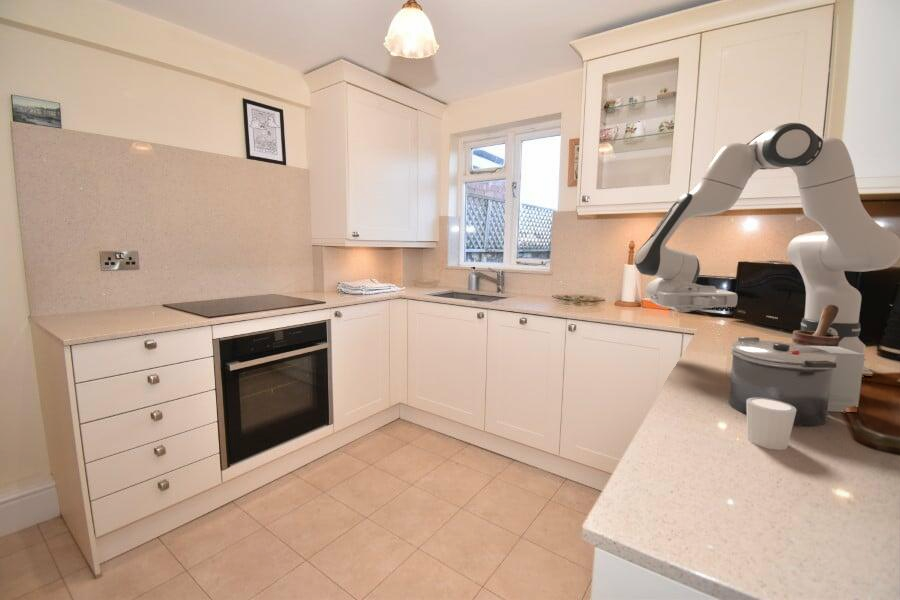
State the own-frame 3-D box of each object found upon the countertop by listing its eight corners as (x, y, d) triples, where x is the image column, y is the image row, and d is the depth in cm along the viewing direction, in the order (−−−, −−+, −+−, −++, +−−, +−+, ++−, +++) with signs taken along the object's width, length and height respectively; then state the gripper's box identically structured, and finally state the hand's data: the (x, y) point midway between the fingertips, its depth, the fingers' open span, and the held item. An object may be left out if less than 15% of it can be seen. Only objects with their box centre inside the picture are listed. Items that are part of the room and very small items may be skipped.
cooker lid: (710, 343, 93) (711, 334, 93) (782, 343, 93) (783, 334, 93) (779, 368, 74) (780, 357, 73) (870, 368, 74) (871, 357, 73)
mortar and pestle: (790, 374, 110) (798, 301, 107) (833, 381, 104) (843, 304, 101) (785, 384, 101) (794, 306, 99) (832, 392, 95) (843, 309, 93)
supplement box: (858, 413, 83) (866, 354, 82) (817, 411, 85) (824, 352, 83) (832, 400, 90) (839, 346, 89) (795, 398, 92) (801, 344, 90)
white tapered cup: (779, 455, 66) (784, 414, 65) (734, 438, 72) (738, 400, 72) (800, 446, 69) (804, 407, 69) (755, 430, 76) (759, 394, 75)
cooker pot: (710, 395, 93) (714, 345, 92) (781, 395, 93) (786, 345, 92) (766, 427, 77) (772, 366, 75) (852, 427, 77) (860, 366, 75)
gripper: (648, 285, 118) (674, 290, 104) (717, 285, 118) (753, 290, 104) (647, 307, 119) (673, 314, 105) (716, 307, 119) (751, 314, 105)
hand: (713, 302), depth 104 cm, fingers closed
